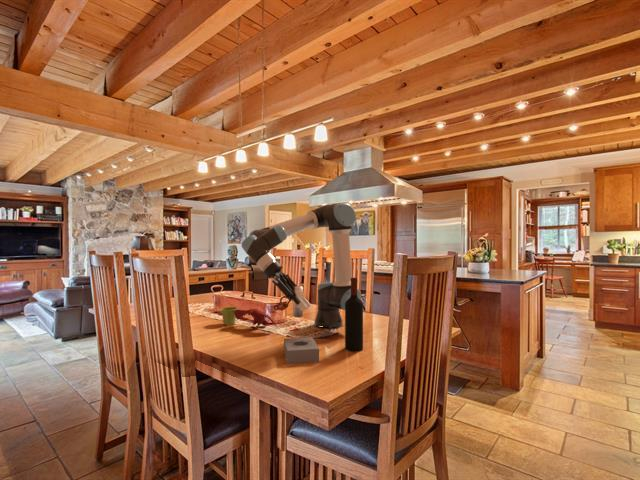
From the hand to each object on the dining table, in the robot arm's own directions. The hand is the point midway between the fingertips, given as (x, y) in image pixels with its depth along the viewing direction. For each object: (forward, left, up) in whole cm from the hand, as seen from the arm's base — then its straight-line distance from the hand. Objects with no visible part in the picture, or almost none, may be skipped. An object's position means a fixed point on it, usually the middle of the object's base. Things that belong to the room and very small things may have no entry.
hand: (306, 308), depth 141 cm
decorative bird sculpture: (+19, -44, -19) cm, 52 cm away
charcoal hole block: (+3, +3, -18) cm, 19 cm away
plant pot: (+34, -56, -19) cm, 69 cm away
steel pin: (+4, -2, -3) cm, 5 cm away
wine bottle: (-21, -2, -19) cm, 28 cm away
